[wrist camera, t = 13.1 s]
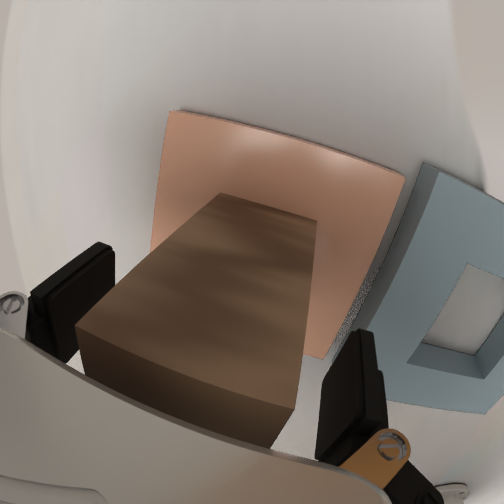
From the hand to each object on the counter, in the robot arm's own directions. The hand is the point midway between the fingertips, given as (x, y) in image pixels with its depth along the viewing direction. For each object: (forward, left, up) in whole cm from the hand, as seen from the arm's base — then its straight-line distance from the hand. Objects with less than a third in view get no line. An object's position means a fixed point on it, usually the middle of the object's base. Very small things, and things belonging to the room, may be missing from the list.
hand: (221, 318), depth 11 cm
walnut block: (0, 0, -6) cm, 6 cm away
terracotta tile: (0, 0, -7) cm, 7 cm away
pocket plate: (-14, 0, -7) cm, 16 cm away
